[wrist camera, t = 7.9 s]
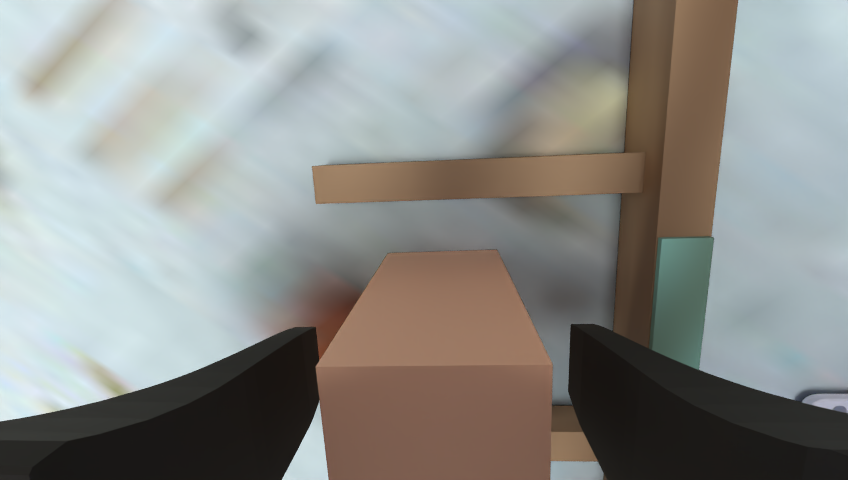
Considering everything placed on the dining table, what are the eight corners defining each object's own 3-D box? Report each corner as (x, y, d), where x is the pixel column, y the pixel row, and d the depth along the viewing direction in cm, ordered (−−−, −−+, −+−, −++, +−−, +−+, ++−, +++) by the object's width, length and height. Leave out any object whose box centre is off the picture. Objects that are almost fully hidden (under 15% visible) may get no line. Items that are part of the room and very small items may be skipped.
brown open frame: (701, -197, 11) (779, -308, 8) (629, 622, 17) (661, 706, 15) (297, -155, 12) (253, -243, 9) (367, 611, 18) (353, 688, 16)
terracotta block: (496, 249, 14) (552, 364, 6) (498, 350, 15) (548, 560, 7) (387, 252, 15) (315, 366, 7) (394, 351, 15) (337, 554, 8)
